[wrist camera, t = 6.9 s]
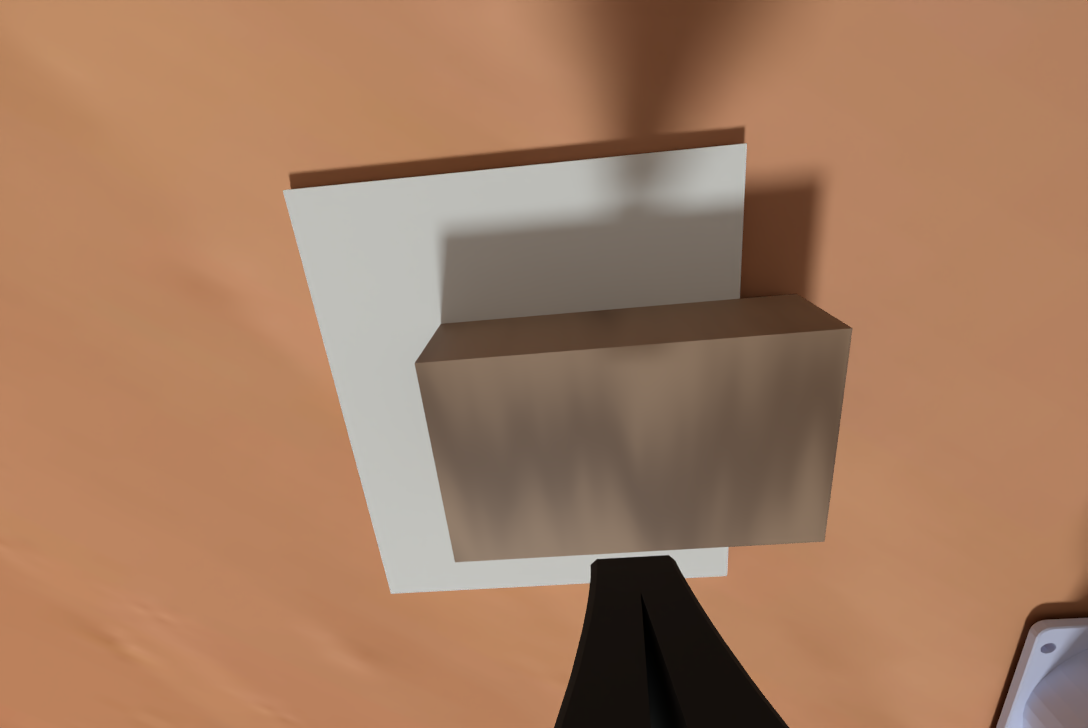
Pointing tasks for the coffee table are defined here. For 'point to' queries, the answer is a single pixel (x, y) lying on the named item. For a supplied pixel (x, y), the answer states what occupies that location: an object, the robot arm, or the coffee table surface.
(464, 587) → the grey mat
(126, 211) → the coffee table surface
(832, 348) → the walnut block
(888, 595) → the coffee table surface
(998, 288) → the coffee table surface
